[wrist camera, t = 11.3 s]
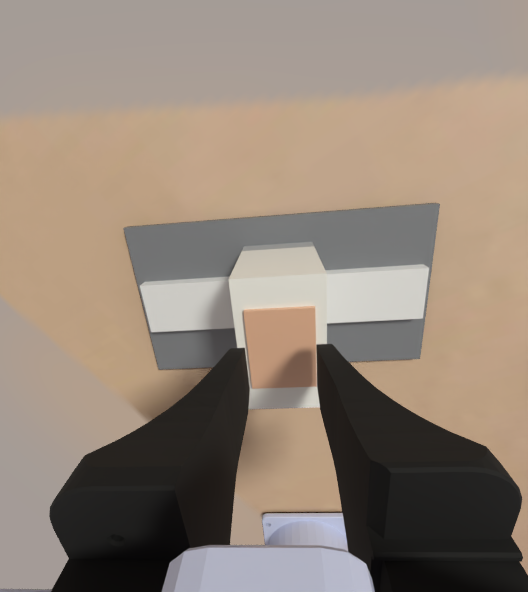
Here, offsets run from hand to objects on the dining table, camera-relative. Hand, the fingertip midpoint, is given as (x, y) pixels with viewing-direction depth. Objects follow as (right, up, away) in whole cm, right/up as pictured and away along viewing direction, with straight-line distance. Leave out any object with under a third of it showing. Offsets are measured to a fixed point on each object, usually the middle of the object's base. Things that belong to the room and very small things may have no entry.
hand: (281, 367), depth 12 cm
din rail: (0, +3, +7) cm, 8 cm away
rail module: (0, +3, +7) cm, 7 cm away
